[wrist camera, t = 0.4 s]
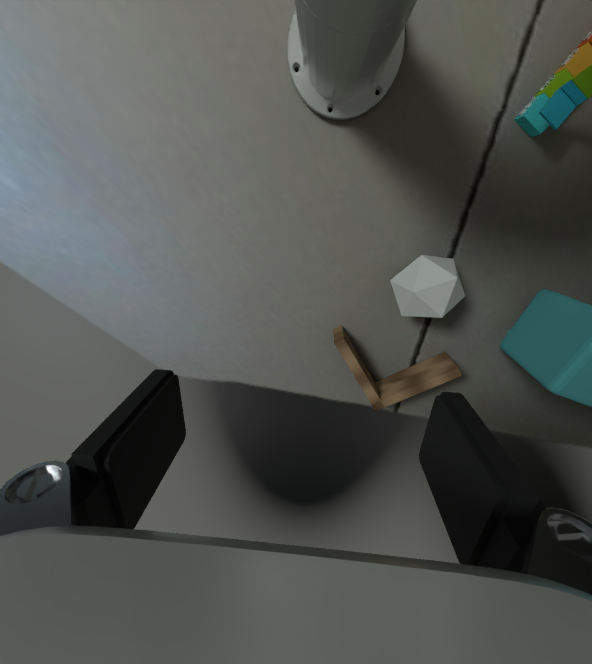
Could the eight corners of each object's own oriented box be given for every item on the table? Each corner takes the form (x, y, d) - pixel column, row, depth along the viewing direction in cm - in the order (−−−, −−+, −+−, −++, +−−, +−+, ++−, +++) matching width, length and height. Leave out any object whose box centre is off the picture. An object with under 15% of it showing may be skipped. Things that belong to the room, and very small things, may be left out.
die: (432, 314, 45) (492, 301, 36) (388, 330, 42) (441, 321, 33) (416, 263, 45) (472, 237, 36) (370, 276, 42) (418, 252, 33)
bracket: (335, 323, 46) (336, 337, 41) (451, 353, 46) (465, 369, 42) (317, 379, 50) (316, 396, 45) (423, 405, 51) (433, 425, 46)
